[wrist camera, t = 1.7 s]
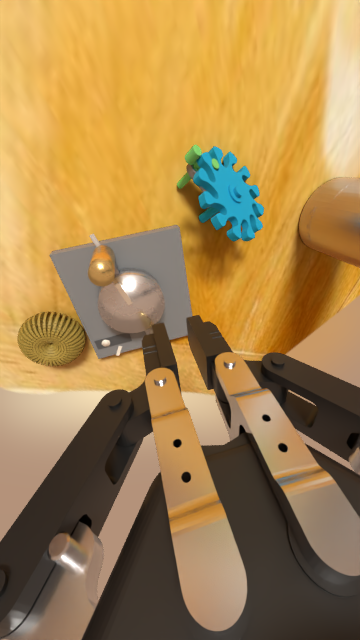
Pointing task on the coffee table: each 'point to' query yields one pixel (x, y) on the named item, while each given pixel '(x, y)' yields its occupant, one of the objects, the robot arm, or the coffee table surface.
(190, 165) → the gear
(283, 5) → the coffee table surface
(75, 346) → the sculpture
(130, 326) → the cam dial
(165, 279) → the board
